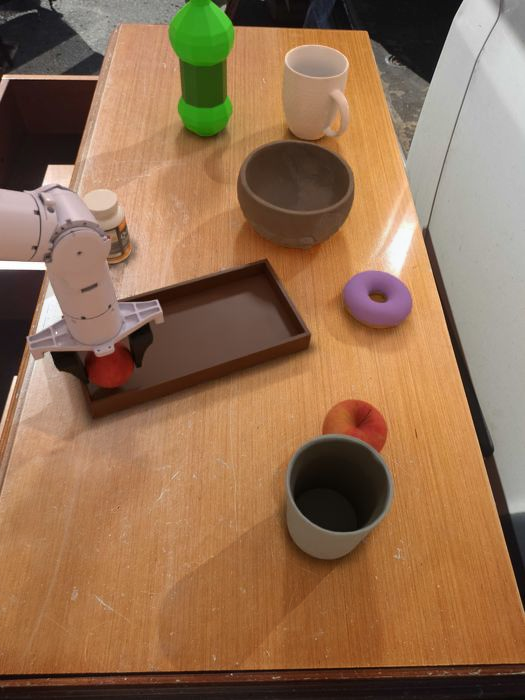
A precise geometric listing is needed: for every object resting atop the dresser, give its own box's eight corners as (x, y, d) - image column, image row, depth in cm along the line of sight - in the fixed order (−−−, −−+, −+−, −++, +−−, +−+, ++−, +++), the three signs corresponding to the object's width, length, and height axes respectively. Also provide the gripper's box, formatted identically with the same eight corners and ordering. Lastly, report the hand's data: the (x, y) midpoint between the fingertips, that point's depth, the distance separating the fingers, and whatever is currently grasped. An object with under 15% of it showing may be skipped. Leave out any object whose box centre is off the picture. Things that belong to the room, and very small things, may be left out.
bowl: (330, 276, 83) (341, 226, 75) (219, 245, 86) (218, 193, 78) (357, 204, 93) (369, 152, 85) (256, 178, 96) (258, 126, 87)
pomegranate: (93, 404, 68) (78, 368, 62) (88, 366, 71) (74, 328, 65) (141, 394, 69) (131, 358, 63) (134, 357, 72) (124, 319, 66)
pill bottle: (136, 259, 84) (125, 208, 75) (98, 269, 82) (83, 217, 74) (127, 234, 87) (115, 182, 78) (90, 243, 85) (74, 191, 77)
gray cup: (385, 519, 63) (414, 478, 53) (330, 590, 58) (351, 560, 48) (315, 462, 66) (330, 413, 56) (258, 524, 62) (263, 484, 52)
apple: (305, 442, 68) (313, 411, 61) (348, 409, 70) (359, 375, 64) (348, 487, 65) (361, 459, 58) (390, 451, 67) (407, 420, 61)
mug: (363, 146, 102) (378, 77, 92) (316, 166, 98) (327, 97, 88) (312, 106, 109) (321, 38, 98) (267, 124, 105) (271, 54, 94)
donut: (421, 299, 81) (427, 281, 77) (390, 348, 78) (395, 332, 74) (361, 269, 84) (364, 250, 80) (329, 315, 81) (330, 298, 77)
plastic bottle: (214, 151, 99) (209, -1, 79) (166, 131, 102) (149, -21, 82) (244, 124, 104) (247, -25, 84) (198, 106, 107) (190, -44, 87)
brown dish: (92, 420, 68) (87, 407, 66) (66, 329, 76) (61, 315, 73) (309, 347, 76) (311, 334, 73) (265, 272, 83) (266, 257, 81)
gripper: (21, 348, 53) (57, 415, 64) (167, 306, 57) (177, 376, 68) (9, 295, 57) (45, 368, 68) (147, 259, 61) (160, 333, 72)
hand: (110, 369), depth 68 cm, fingers closed on pomegranate, 6 cm apart
